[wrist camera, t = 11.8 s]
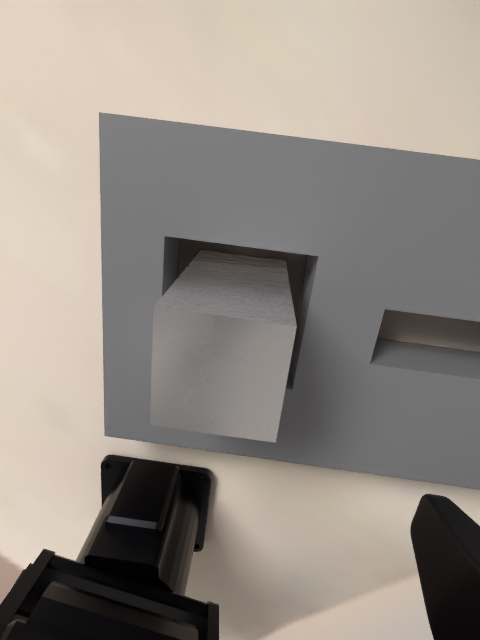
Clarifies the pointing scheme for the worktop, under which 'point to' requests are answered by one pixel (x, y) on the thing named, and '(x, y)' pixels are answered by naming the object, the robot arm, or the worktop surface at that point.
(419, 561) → the robot arm
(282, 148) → the socket board
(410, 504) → the worktop surface
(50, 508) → the worktop surface
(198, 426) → the square peg
